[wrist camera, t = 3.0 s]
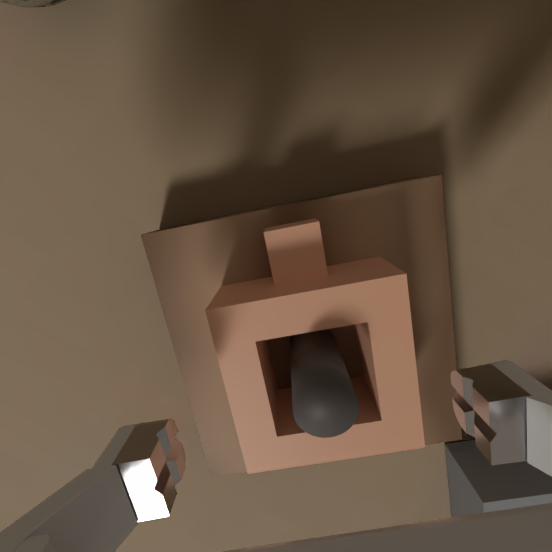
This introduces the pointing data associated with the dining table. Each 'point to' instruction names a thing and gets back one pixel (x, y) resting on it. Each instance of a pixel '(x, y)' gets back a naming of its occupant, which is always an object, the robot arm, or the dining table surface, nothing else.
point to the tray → (491, 482)
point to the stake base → (343, 241)
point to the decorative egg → (32, 2)
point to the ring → (308, 318)
